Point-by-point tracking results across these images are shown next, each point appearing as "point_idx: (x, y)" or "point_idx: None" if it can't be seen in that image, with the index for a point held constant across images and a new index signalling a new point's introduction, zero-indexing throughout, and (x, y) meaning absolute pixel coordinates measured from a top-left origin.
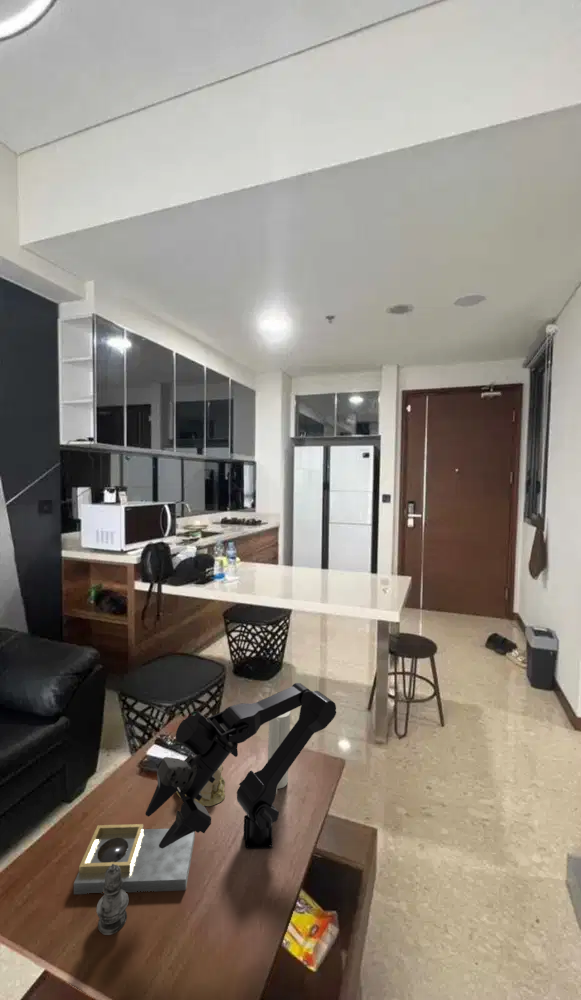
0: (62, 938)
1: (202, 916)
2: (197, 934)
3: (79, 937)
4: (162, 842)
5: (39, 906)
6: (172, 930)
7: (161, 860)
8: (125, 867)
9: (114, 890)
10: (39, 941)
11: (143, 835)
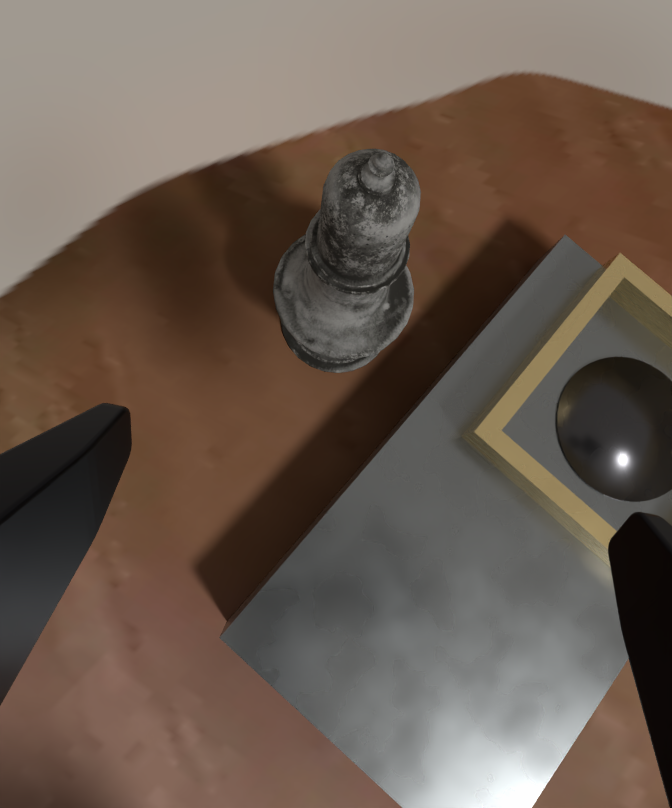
0: None
1: (57, 614)
2: None
3: None
4: (60, 424)
5: (569, 162)
6: None
7: (413, 590)
8: (484, 416)
9: (317, 229)
10: (441, 121)
11: None
